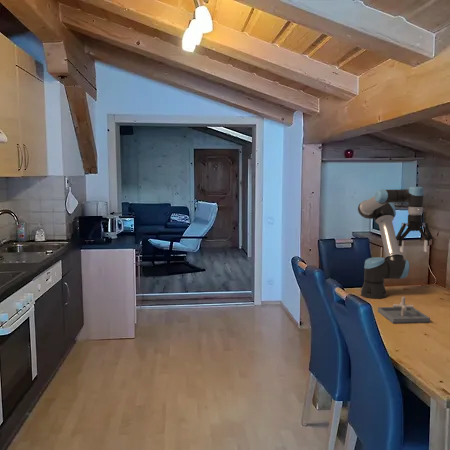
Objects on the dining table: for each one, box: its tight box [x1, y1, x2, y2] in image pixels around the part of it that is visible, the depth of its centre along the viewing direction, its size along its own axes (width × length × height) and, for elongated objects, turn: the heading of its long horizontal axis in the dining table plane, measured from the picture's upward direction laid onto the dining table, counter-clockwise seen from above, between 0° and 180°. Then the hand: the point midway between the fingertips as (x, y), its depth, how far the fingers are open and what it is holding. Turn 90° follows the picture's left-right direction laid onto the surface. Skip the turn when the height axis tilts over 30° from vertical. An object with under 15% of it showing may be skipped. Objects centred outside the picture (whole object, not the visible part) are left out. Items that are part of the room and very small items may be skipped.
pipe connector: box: [392, 296, 415, 316], centre depth 243 cm, size 10×10×10 cm
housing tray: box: [377, 306, 431, 325], centre depth 243 cm, size 20×19×2 cm
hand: (413, 251), depth 261 cm, fingers open, 13 cm apart
